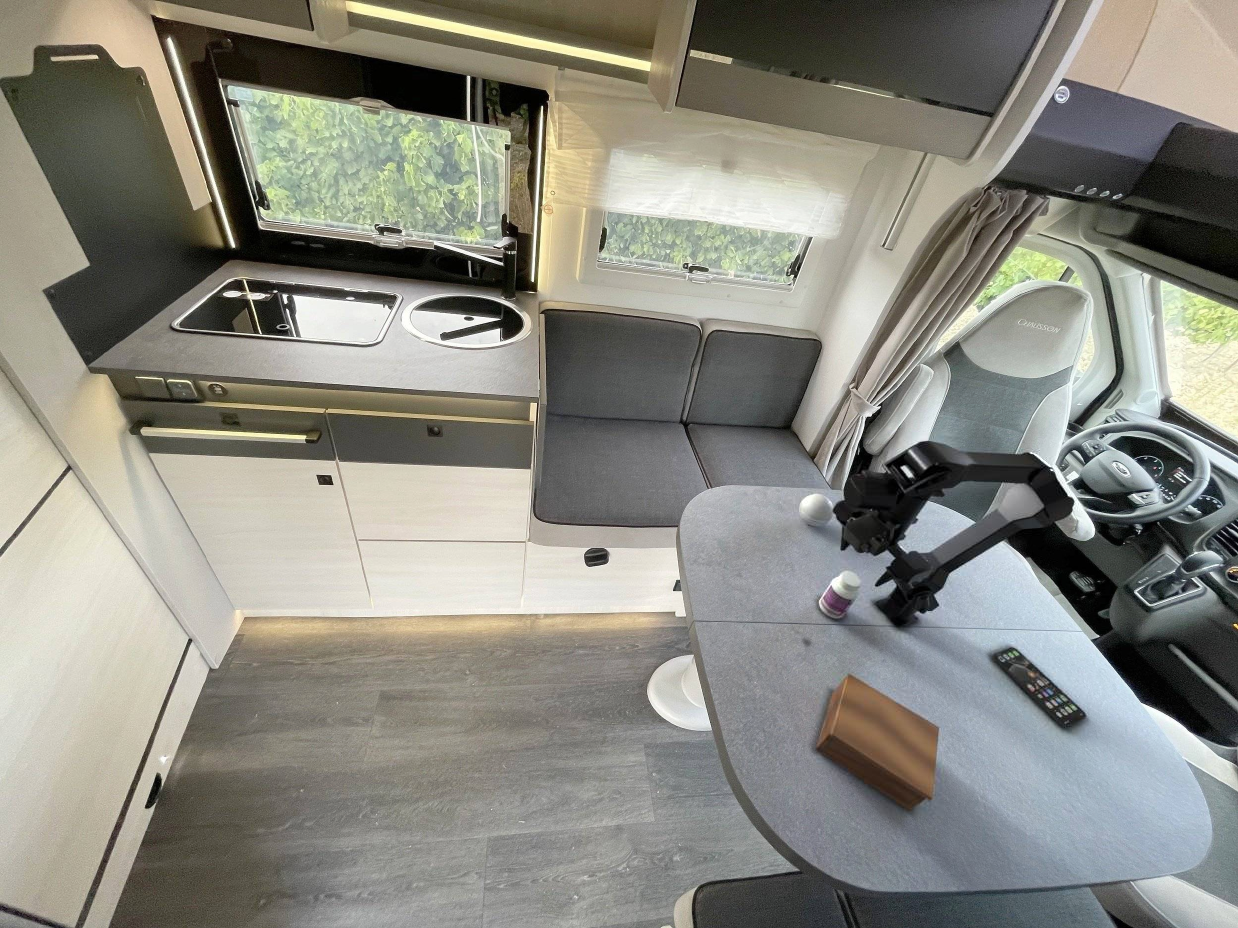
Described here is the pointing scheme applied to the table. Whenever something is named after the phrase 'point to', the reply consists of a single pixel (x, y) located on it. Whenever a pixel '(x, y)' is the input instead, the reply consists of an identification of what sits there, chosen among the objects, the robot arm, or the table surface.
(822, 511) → the bath bomb
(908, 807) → the chest
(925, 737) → the lid
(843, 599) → the pill bottle
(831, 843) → the table surface
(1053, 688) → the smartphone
